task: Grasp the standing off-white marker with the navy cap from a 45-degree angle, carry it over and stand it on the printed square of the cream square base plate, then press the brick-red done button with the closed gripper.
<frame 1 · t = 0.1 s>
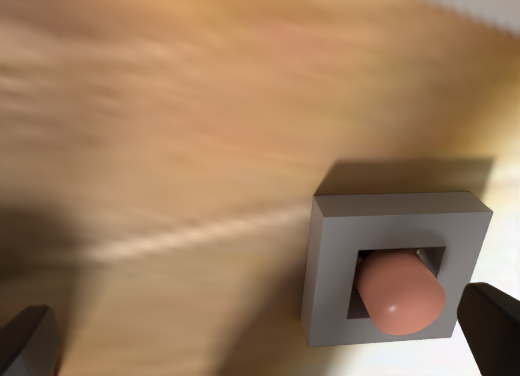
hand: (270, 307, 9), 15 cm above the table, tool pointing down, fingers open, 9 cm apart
done button: (397, 289, 25), point 3 cm above the table, slide at 0.0 cm
button housing: (379, 259, 28), on the table
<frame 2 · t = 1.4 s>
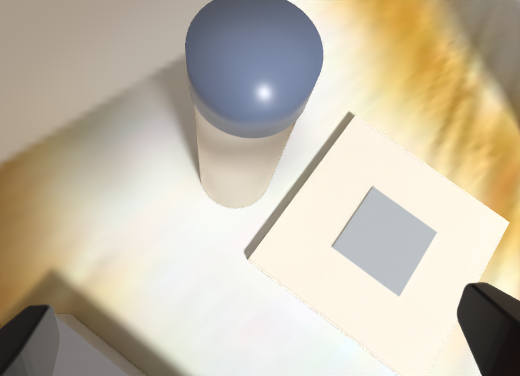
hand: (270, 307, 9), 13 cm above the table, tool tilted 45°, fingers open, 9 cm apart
cream square base plate: (381, 241, 24), on the table
marker: (235, 174, 24), on the table
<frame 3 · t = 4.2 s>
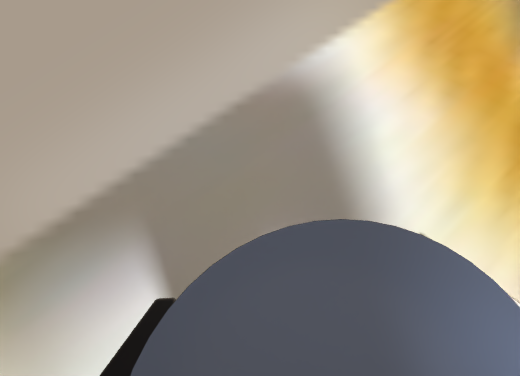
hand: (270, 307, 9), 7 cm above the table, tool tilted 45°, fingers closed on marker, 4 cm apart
marker: (248, 352, 15), on the table, touching gripper
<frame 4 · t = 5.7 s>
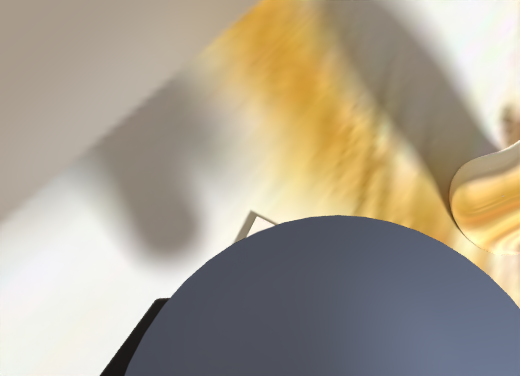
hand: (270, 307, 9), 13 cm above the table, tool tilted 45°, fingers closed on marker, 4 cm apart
beer glass: (493, 205, 25), on the table
marker: (247, 351, 15), point 7 cm above the table, touching gripper
when the fingers open (8 cm above the table, at t = 7.4 s): marker drops 1 cm, resting on cream square base plate.
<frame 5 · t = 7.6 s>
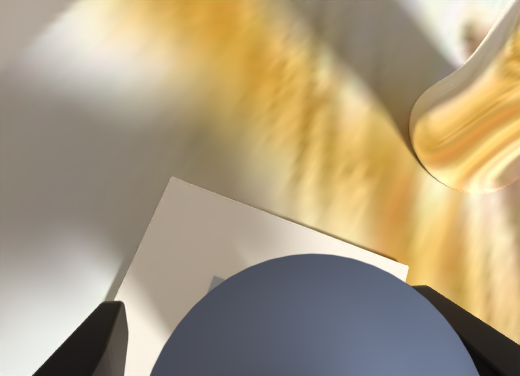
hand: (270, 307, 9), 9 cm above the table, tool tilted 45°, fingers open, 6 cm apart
cream square base plate: (244, 348, 17), on the table
beer glass: (463, 138, 21), on the table
marker: (245, 350, 16), point 1 cm above the table, touching cream square base plate
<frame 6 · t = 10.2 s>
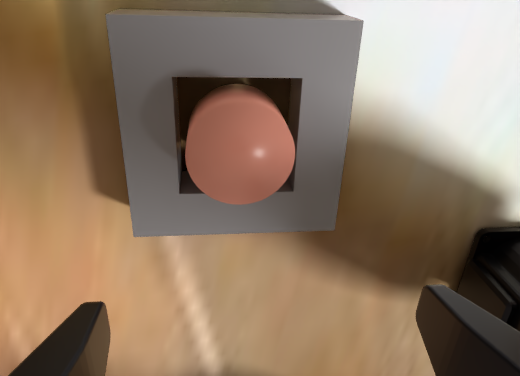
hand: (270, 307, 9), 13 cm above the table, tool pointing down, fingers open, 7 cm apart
done button: (238, 143, 18), point 3 cm above the table, slide at 0.0 cm
button housing: (234, 121, 21), on the table
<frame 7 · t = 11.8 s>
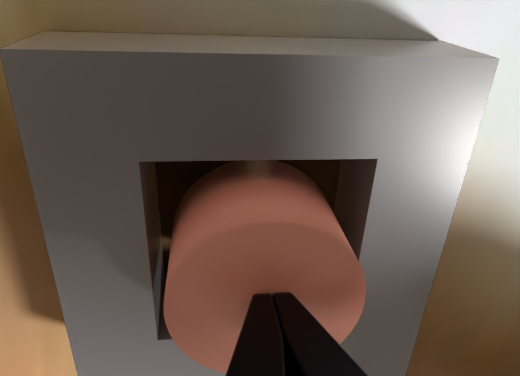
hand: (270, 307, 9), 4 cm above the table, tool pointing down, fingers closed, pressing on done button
done button: (259, 264, 10), point 3 cm above the table, slide at 0.2 cm, touching gripper
button housing: (248, 207, 13), on the table
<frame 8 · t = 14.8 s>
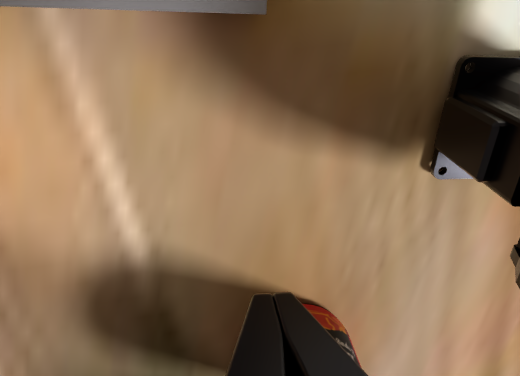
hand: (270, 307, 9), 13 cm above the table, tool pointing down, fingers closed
canned food: (290, 341, 29), on the table
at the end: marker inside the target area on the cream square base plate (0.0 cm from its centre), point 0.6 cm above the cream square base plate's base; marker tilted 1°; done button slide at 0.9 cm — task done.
